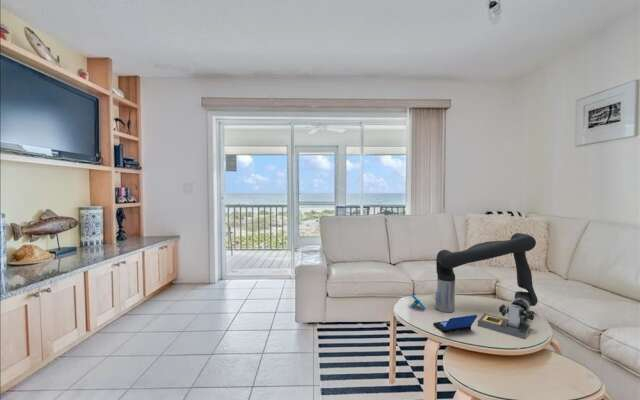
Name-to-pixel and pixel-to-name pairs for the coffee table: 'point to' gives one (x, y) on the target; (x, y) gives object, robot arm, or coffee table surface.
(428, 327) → the coffee table surface
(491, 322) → the plate with square holes
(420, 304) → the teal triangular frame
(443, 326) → the handheld game console
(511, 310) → the brushed steel peg
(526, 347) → the coffee table surface
